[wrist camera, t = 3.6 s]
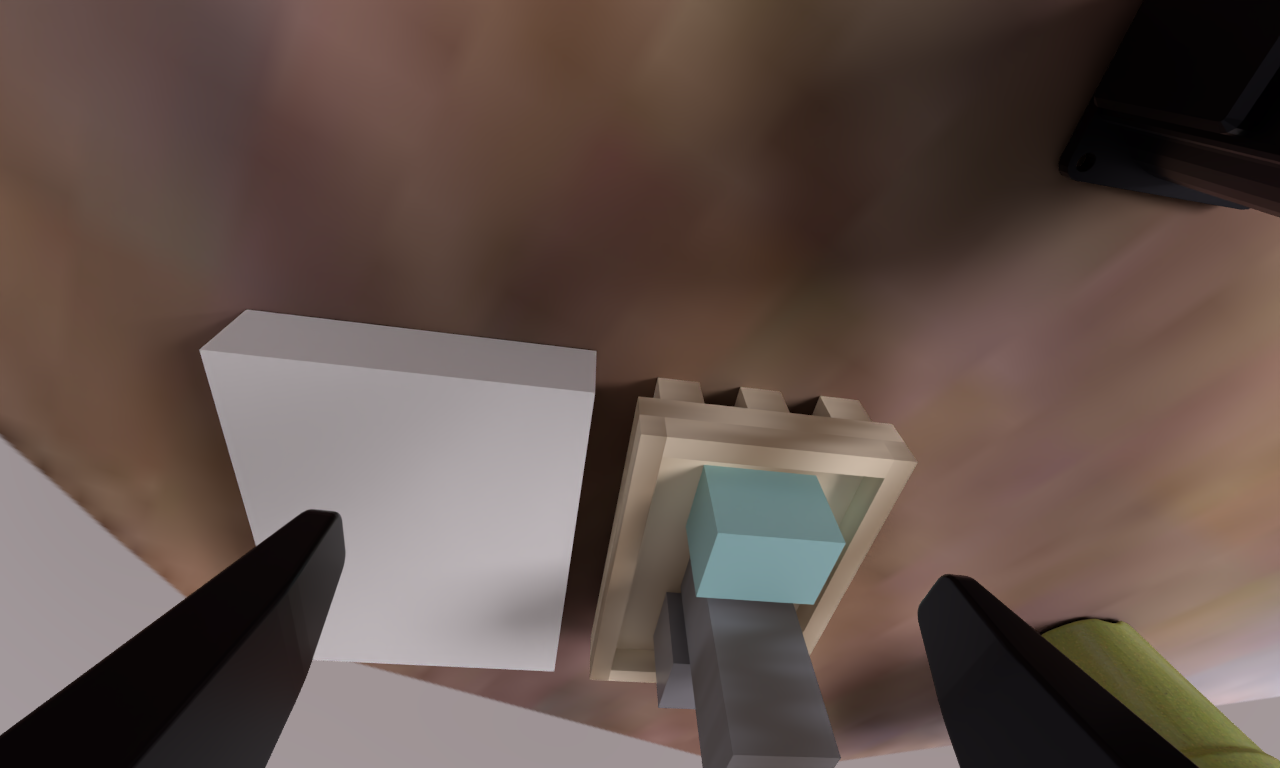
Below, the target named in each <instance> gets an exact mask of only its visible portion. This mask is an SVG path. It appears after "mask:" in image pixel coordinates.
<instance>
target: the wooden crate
mask: <svg viewBox="0 0 1280 768" xmlns="http://www.w3.org/2000/svg"><path fill="white" fill-rule="evenodd" d="M917 463H918V462H917V460H916V459H915V457H914V456H913V454H912V453H911V451H910V450H909V448H908V447H907V445H906V444H905V442H904V441H903V439H902V438H901V437H900V435H899V434H898V432H897V431H896V429H895V428H894V426H893V425H892V424H886V423H877V422H872V421H871V419H870V418H869V416H868V415H867V413H866V411H865V410H864V408H863V407H862V405H861V403H860V402H859V400H851V399H842V398H834V397H825V396H820V397H819V399H818V402H817V404H816V407H815V409H814V412H813V414H812V415H804V414H795V413H790V412H789V410H788V407H787V405H786V403H785V401H784V398H783V396H782V394H781V391H772V390H764V389H755V388H746V387H740V389H739V393H738V396H737V399H736V402H735V406H734V407H731V406H722V405H712V404H705V403H704V399H703V395H702V391H701V387H700V383H699V382H693V381H685V380H676V379H667V378H658V379H657V383H656V388H655V392H654V397H653V398H648V397H639V396H638V400H637V405H636V410H635V415H634V420H633V425H632V430H631V436H630V441H629V446H628V451H627V456H626V461H625V466H624V471H623V476H622V481H621V486H620V491H619V496H618V501H617V507H616V512H615V517H614V522H613V527H612V532H611V537H610V542H609V547H608V552H607V557H606V562H605V567H604V572H603V577H602V583H601V588H600V593H599V598H598V603H597V608H596V613H595V618H594V623H593V628H592V633H591V647H590V680H604V681H626V682H648V683H657V682H656V668H655V653H654V639H653V636H654V632H655V629H656V626H657V622H658V619H659V615H660V612H661V609H662V605H663V602H664V599H665V595H666V592H672V593H681V595H682V603H683V611H684V619H685V627H686V635H687V643H688V652H689V660H690V668H691V676H692V684H693V692H694V700H695V708H696V716H697V724H698V732H699V741H700V749H701V757H702V764H703V768H834V767H835V766H836V764H837V763H838V761H839V760H840V759H841V757H840V754H839V750H838V747H837V744H836V741H835V737H834V734H833V731H832V728H831V724H830V721H829V718H828V715H827V711H826V708H825V705H824V702H823V698H822V695H821V692H820V689H819V685H818V682H817V679H816V676H815V672H814V669H813V666H812V663H811V659H810V654H811V652H812V651H813V649H814V647H815V645H816V643H817V642H818V640H819V638H820V636H821V634H822V633H823V631H824V629H825V627H826V625H827V624H828V622H829V620H830V618H831V617H832V615H833V613H834V611H835V609H836V608H837V606H838V604H839V602H840V600H841V599H842V597H843V595H844V593H845V591H846V590H847V588H848V586H849V584H850V583H851V581H852V579H853V577H854V575H855V574H856V572H857V570H858V568H859V566H860V565H861V563H862V561H863V559H864V557H865V556H866V554H867V552H868V550H869V549H870V547H871V545H872V543H873V541H874V540H875V538H876V536H877V534H878V532H879V531H880V529H881V527H882V525H883V523H884V522H885V520H886V518H887V516H888V515H889V513H890V511H891V509H892V507H893V506H894V504H895V502H896V500H897V498H898V497H899V495H900V493H901V491H902V489H903V488H904V486H905V484H906V482H907V481H908V479H909V477H910V475H911V473H912V472H913V470H914V468H915V466H916V464H917ZM704 465H711V466H722V467H732V468H743V469H753V470H764V471H774V472H785V473H795V474H805V475H816V476H817V479H818V481H819V483H820V485H821V488H822V490H823V492H824V495H825V497H826V499H827V501H828V504H829V506H830V508H831V511H832V513H833V515H834V517H835V520H836V522H837V524H838V527H839V529H840V531H841V533H842V536H843V538H844V540H845V543H846V544H845V546H844V548H843V550H842V551H841V553H840V555H839V557H838V559H837V561H836V563H835V565H834V567H833V569H832V571H831V572H830V574H829V576H828V578H827V580H826V582H825V584H824V586H823V588H822V590H821V592H820V594H819V595H818V597H817V599H816V601H815V603H814V605H811V604H796V603H781V602H765V601H750V600H735V599H720V598H704V597H696V593H695V586H694V580H693V573H692V566H691V559H690V552H689V546H688V539H687V532H686V524H687V520H688V517H689V514H690V510H691V507H692V503H693V500H694V497H695V493H696V490H697V487H698V483H699V480H700V476H701V473H702V470H703V466H704Z"/></svg>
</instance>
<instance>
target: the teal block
mask: <svg viewBox="0 0 1280 768" xmlns="http://www.w3.org/2000/svg"><path fill="white" fill-rule="evenodd" d="M686 532H687V539H688V546H689V552H690V559H691V566H692V573H693V580H694V586H695V593H696V597H704V598H720V599H735V600H750V601H765V602H781V603H796V604H811V605H814V603H815V601H816V599H817V597H818V595H819V594H820V592H821V590H822V588H823V586H824V584H825V582H826V580H827V578H828V576H829V574H830V572H831V571H832V569H833V567H834V565H835V563H836V561H837V559H838V557H839V555H840V553H841V551H842V550H843V548H844V546H845V544H846V543H845V540H844V538H843V536H842V533H841V531H840V529H839V527H838V524H837V522H836V520H835V517H834V515H833V513H832V511H831V508H830V506H829V504H828V501H827V499H826V497H825V495H824V492H823V490H822V488H821V485H820V483H819V481H818V479H817V476H816V475H805V474H795V473H785V472H774V471H764V470H753V469H743V468H732V467H722V466H711V465H704V466H703V470H702V473H701V476H700V480H699V483H698V487H697V490H696V493H695V497H694V500H693V503H692V507H691V510H690V514H689V517H688V520H687V524H686Z"/></svg>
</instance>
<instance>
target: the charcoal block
mask: <svg viewBox="0 0 1280 768" xmlns="http://www.w3.org/2000/svg"><path fill="white" fill-rule="evenodd" d="M653 639H654V653H655V668H656V682H657V696H658V708H681V709H696V708H695V700H694V692H693V684H692V676H691V668H690V660H689V652H688V643H687V635H686V627H685V619H684V611H683V603H682V595H681V593H672V592H666V595H665V599H664V602H663V605H662V609H661V612H660V615H659V619H658V622H657V626H656V629H655V632H654V636H653Z"/></svg>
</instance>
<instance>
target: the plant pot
mask: <svg viewBox="0 0 1280 768" xmlns="http://www.w3.org/2000/svg"><path fill="white" fill-rule="evenodd" d="M1041 636H1043V637H1044V638H1045V639H1046V640H1047V641H1049V642H1050V643H1051V644H1052V645H1053V646H1055V647H1056V648H1057V649H1058V650H1059V651H1061V652H1062V653H1063V654H1064V655H1065V656H1067V657H1068V658H1069V659H1070V660H1071V661H1073V662H1074V663H1075V664H1076V665H1077V666H1078V667H1080V668H1081V669H1082V670H1083V671H1084V672H1086V673H1087V674H1088V675H1089V676H1090V677H1092V678H1093V679H1094V680H1095V681H1096V682H1098V683H1099V684H1100V685H1101V686H1102V687H1104V688H1105V689H1106V690H1107V691H1108V692H1110V693H1111V694H1112V695H1113V696H1114V697H1116V698H1117V699H1118V700H1119V701H1120V702H1122V703H1123V704H1124V705H1125V706H1126V707H1128V708H1129V709H1130V710H1131V711H1132V712H1133V713H1135V714H1136V715H1137V716H1138V717H1139V718H1141V719H1142V720H1143V721H1144V722H1145V723H1147V724H1148V725H1149V726H1150V727H1151V728H1153V729H1154V730H1155V731H1156V732H1157V733H1159V734H1160V735H1161V736H1162V737H1163V738H1165V739H1166V740H1167V741H1168V742H1169V743H1171V744H1172V745H1173V746H1174V747H1175V748H1177V749H1178V750H1179V751H1180V752H1181V753H1183V754H1184V755H1185V756H1186V757H1187V758H1189V759H1190V760H1191V761H1192V762H1193V763H1194V764H1196V765H1197V766H1198V767H1199V768H1280V761H1279V760H1278V759H1276V758H1274V757H1272V756H1270V755H1268V754H1266V753H1265V752H1263V751H1262V750H1261V749H1260V748H1259V747H1258V746H1257V745H1256V744H1255V743H1254V742H1252V741H1251V740H1250V739H1249V738H1248V737H1247V736H1246V735H1245V734H1244V733H1243V732H1242V731H1241V730H1240V729H1238V727H1236V726H1235V725H1234V724H1233V723H1232V722H1231V721H1230V720H1229V719H1228V718H1227V717H1226V716H1224V714H1223V713H1221V712H1220V711H1219V710H1218V709H1217V708H1216V707H1215V706H1214V705H1213V704H1212V703H1211V702H1210V701H1209V700H1208V699H1207V698H1206V697H1204V696H1203V695H1202V694H1201V693H1200V692H1199V691H1198V690H1197V689H1196V688H1195V687H1194V686H1193V685H1192V684H1191V683H1190V682H1189V681H1188V680H1186V679H1185V678H1184V677H1183V676H1182V675H1181V674H1180V673H1179V672H1178V671H1177V670H1176V669H1175V668H1174V667H1173V666H1172V665H1171V664H1170V663H1169V662H1168V661H1166V660H1165V659H1164V658H1163V657H1162V656H1161V655H1160V654H1159V653H1158V652H1157V651H1156V650H1155V649H1154V648H1153V647H1152V646H1151V645H1150V644H1149V643H1148V642H1147V641H1146V640H1145V639H1143V638H1142V637H1141V636H1140V635H1139V634H1138V633H1137V632H1136V631H1135V630H1134V629H1133V628H1132V627H1131V626H1130V625H1128V624H1127V623H1125V622H1122V621H1119V622H1117V623H1109V622H1105V621H1102V620H1099V619H1086V620H1080V621H1075V622H1072V623H1069V624H1066V625H1063V626H1060V627H1058V628H1055V629H1052V630H1050V631H1048V632H1046V633H1044V634H1042V635H1041Z"/></svg>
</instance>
